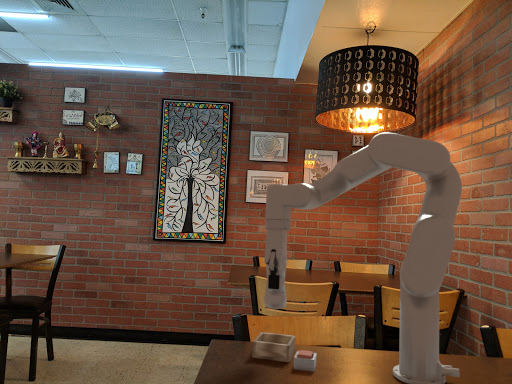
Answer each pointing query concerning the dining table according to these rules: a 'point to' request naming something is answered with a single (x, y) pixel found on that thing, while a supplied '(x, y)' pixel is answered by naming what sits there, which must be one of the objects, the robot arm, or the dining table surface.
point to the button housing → (305, 363)
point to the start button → (305, 354)
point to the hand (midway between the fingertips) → (275, 286)
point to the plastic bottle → (277, 296)
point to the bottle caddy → (274, 347)
